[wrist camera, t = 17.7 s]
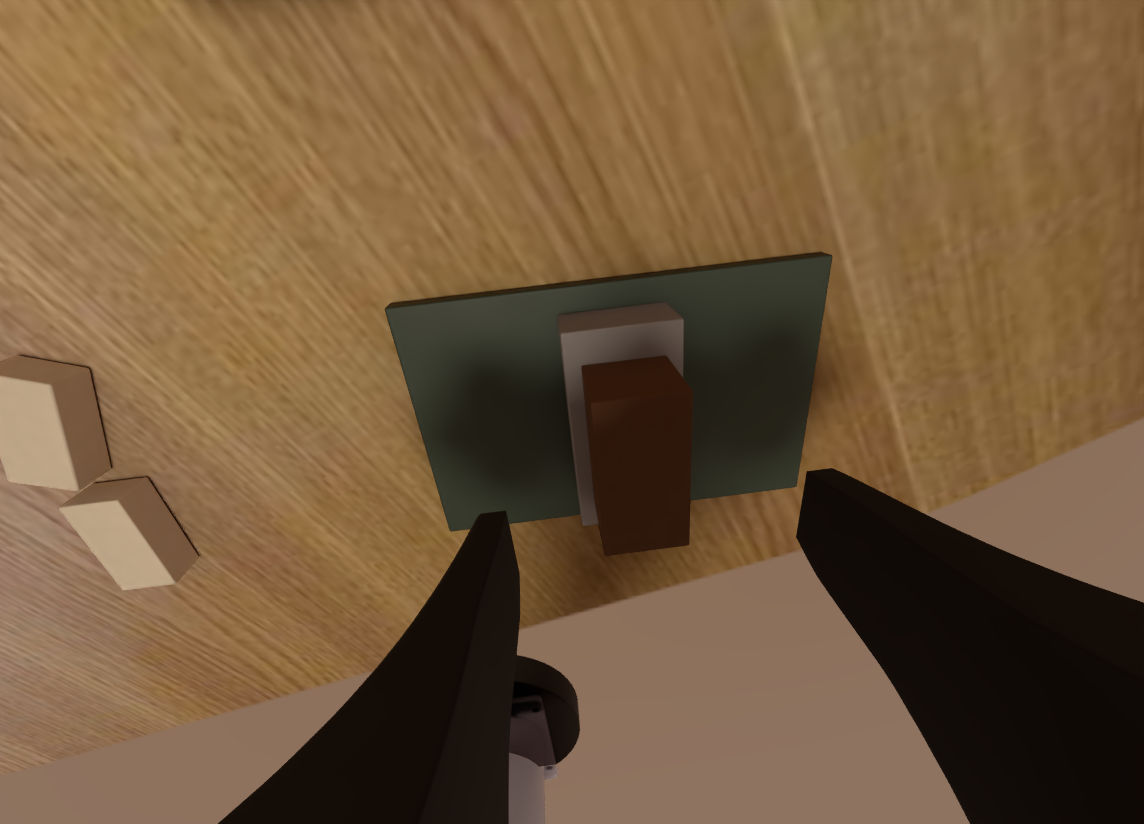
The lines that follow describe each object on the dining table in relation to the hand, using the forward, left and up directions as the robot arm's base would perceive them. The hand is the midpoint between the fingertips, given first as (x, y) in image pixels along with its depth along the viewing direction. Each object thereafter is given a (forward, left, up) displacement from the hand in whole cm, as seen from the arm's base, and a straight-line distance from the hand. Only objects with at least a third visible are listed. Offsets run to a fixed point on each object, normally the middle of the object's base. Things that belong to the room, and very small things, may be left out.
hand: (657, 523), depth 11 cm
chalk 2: (-3, +18, -7) cm, 19 cm away
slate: (0, 0, -7) cm, 7 cm away
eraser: (0, 0, -6) cm, 6 cm away
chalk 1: (+2, +18, -7) cm, 20 cm away
